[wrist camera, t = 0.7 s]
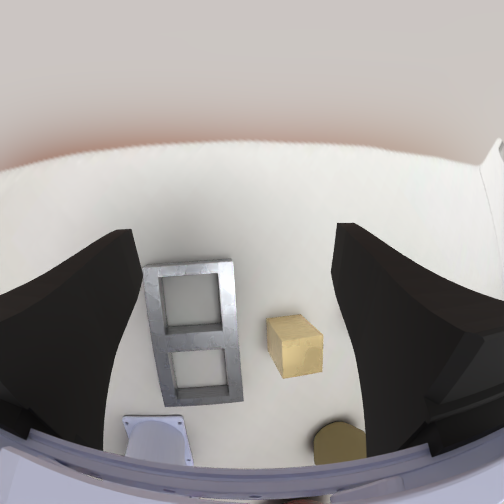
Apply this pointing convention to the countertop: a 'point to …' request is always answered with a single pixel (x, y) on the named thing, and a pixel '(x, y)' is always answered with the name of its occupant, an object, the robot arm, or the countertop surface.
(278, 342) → the light brown wooden block
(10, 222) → the countertop surface
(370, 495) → the robot arm
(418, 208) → the countertop surface
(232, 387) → the steel window frame
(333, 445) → the squeeze bottle
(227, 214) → the countertop surface
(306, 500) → the round-bottom flask
